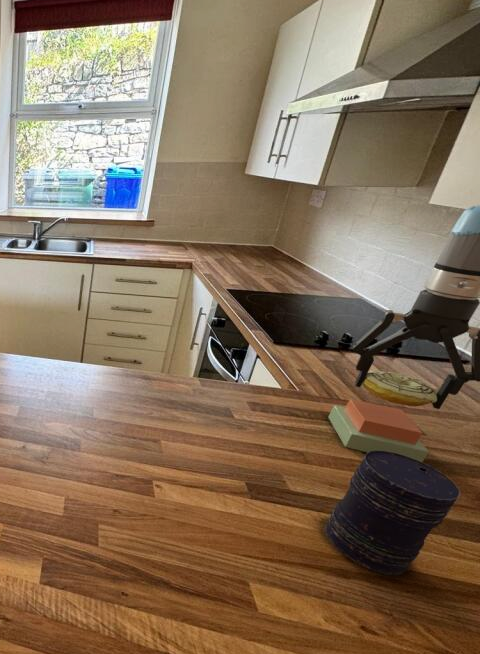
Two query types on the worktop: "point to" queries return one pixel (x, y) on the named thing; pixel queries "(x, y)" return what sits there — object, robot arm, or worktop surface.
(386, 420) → the stack top
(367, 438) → the stack base
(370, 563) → the dark blue cylinder
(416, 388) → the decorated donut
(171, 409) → the worktop surface
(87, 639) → the worktop surface
